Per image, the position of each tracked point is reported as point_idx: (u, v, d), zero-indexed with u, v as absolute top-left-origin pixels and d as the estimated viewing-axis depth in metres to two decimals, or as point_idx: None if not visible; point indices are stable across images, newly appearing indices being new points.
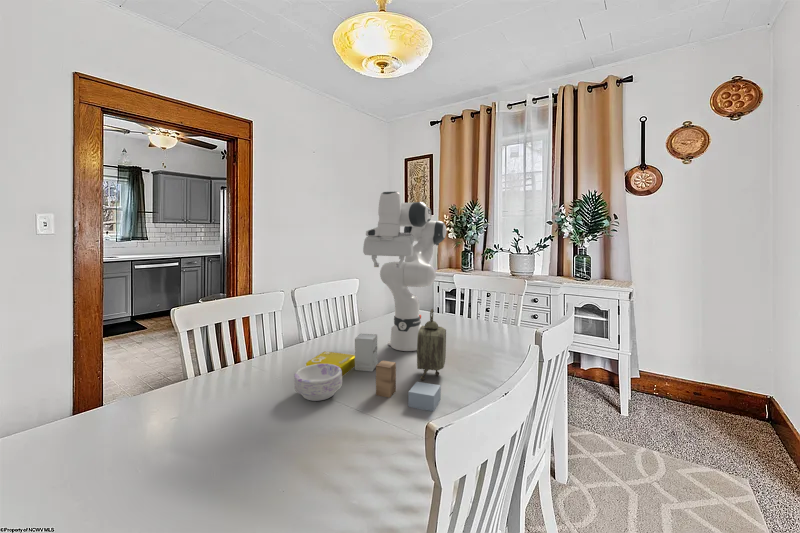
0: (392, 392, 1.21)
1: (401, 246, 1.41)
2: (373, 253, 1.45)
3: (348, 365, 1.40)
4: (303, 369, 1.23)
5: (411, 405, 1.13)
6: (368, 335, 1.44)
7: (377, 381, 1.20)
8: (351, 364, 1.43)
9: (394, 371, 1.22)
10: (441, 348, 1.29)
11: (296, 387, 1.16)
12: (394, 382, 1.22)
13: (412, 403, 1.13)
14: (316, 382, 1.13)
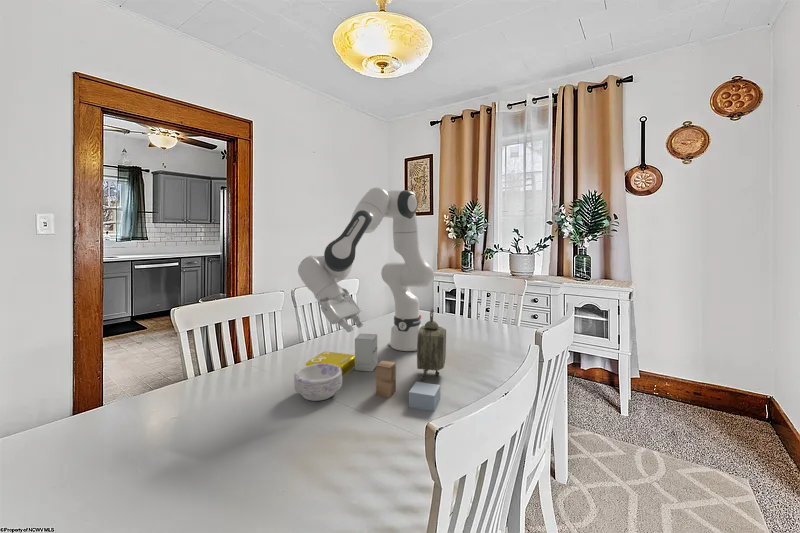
0: (392, 392, 1.21)
1: None
2: None
3: (348, 365, 1.40)
4: (303, 369, 1.23)
5: (411, 405, 1.13)
6: (368, 335, 1.44)
7: (377, 381, 1.20)
8: (351, 364, 1.43)
9: (394, 371, 1.22)
10: (441, 348, 1.29)
11: (296, 387, 1.16)
12: (394, 382, 1.22)
13: (412, 404, 1.12)
14: (316, 382, 1.13)
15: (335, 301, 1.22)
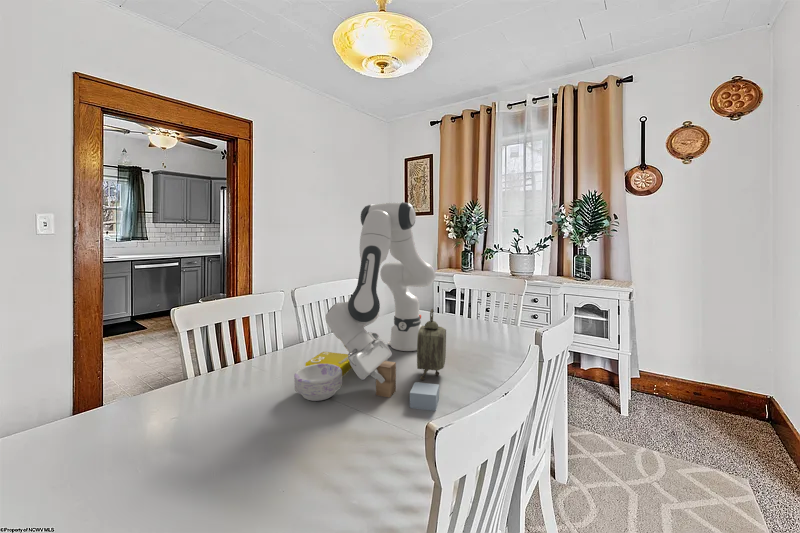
0: (392, 392, 1.21)
1: None
2: None
3: (348, 365, 1.40)
4: (303, 369, 1.23)
5: (412, 406, 1.12)
6: None
7: (377, 381, 1.20)
8: None
9: (394, 371, 1.22)
10: (441, 348, 1.29)
11: (296, 387, 1.16)
12: (394, 382, 1.22)
13: (413, 404, 1.12)
14: (316, 382, 1.13)
15: (364, 352, 1.19)
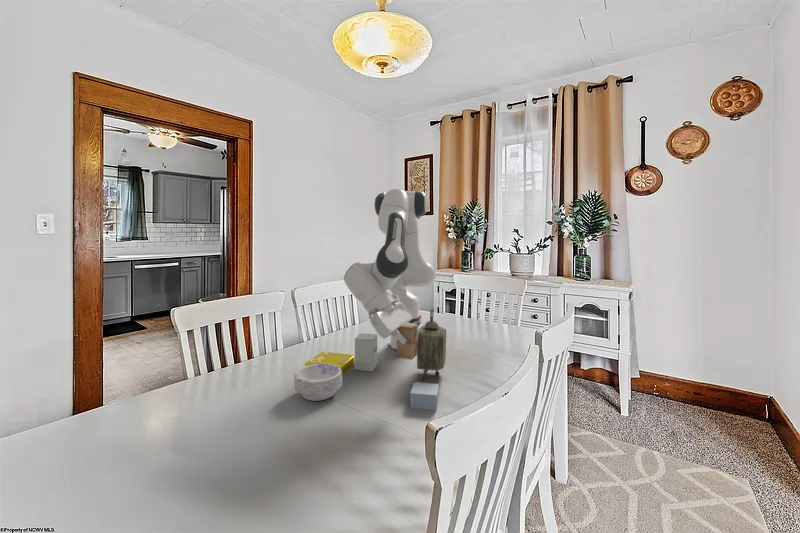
0: (414, 354, 1.15)
1: None
2: None
3: (347, 365, 1.40)
4: (303, 369, 1.23)
5: (413, 406, 1.12)
6: (368, 335, 1.44)
7: (398, 343, 1.14)
8: (350, 364, 1.43)
9: (416, 333, 1.16)
10: (441, 348, 1.29)
11: (296, 387, 1.16)
12: (415, 344, 1.16)
13: (414, 404, 1.12)
14: (316, 382, 1.13)
15: (385, 312, 1.13)
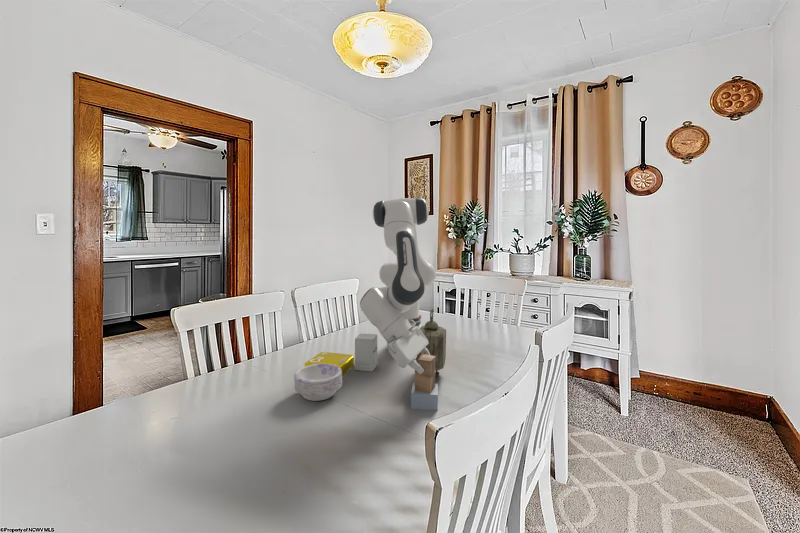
0: (432, 387, 1.13)
1: None
2: None
3: (347, 365, 1.41)
4: (303, 369, 1.23)
5: (414, 407, 1.12)
6: (368, 335, 1.44)
7: (416, 376, 1.13)
8: (350, 364, 1.43)
9: (434, 365, 1.14)
10: (441, 348, 1.29)
11: (296, 387, 1.16)
12: (433, 376, 1.15)
13: (415, 405, 1.12)
14: (316, 382, 1.13)
15: (403, 339, 1.12)
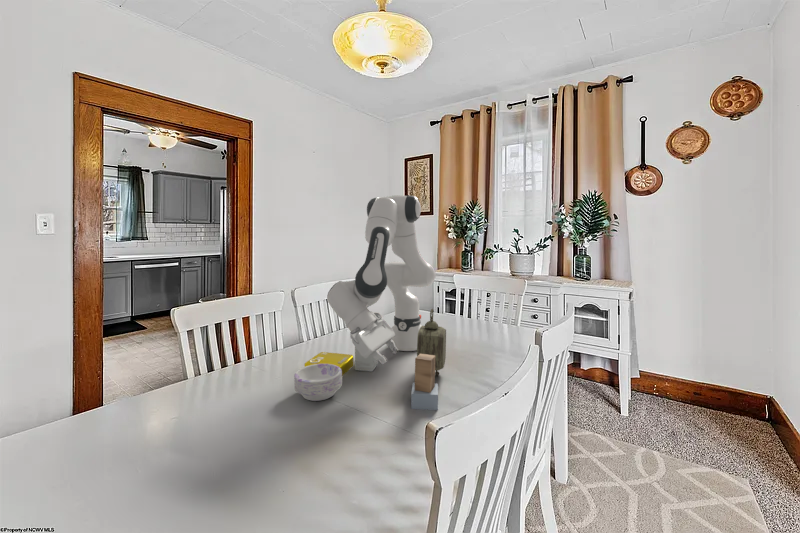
0: (432, 387, 1.14)
1: None
2: None
3: (347, 364, 1.41)
4: (303, 369, 1.23)
5: (414, 407, 1.12)
6: None
7: (416, 375, 1.13)
8: (350, 364, 1.43)
9: (434, 365, 1.15)
10: (441, 348, 1.29)
11: (296, 387, 1.16)
12: (433, 376, 1.15)
13: (415, 405, 1.12)
14: (316, 382, 1.13)
15: (367, 331, 1.16)
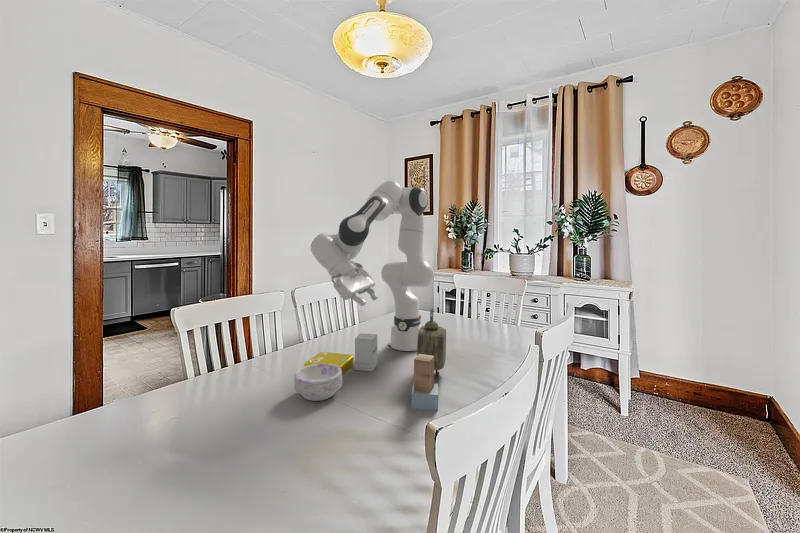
0: (431, 387, 1.14)
1: None
2: None
3: (347, 365, 1.41)
4: (303, 369, 1.23)
5: (414, 407, 1.12)
6: (368, 335, 1.44)
7: (415, 376, 1.13)
8: (349, 364, 1.43)
9: (433, 365, 1.14)
10: (441, 348, 1.29)
11: (296, 387, 1.16)
12: (432, 376, 1.15)
13: (415, 405, 1.12)
14: (316, 382, 1.13)
15: (347, 277, 1.25)
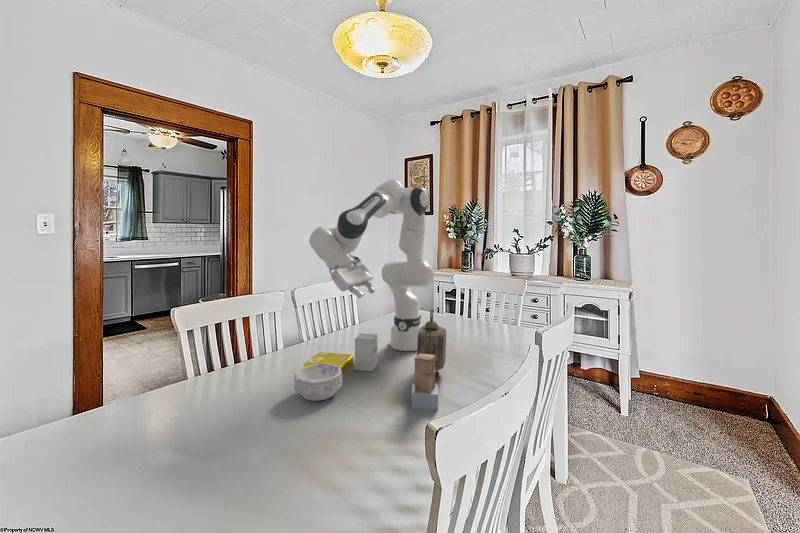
0: (432, 386, 1.14)
1: None
2: None
3: (347, 364, 1.41)
4: (303, 369, 1.23)
5: (414, 407, 1.12)
6: (368, 335, 1.44)
7: (416, 375, 1.13)
8: (349, 364, 1.43)
9: (433, 364, 1.15)
10: (441, 348, 1.29)
11: (296, 387, 1.16)
12: (433, 376, 1.15)
13: (415, 405, 1.12)
14: (316, 382, 1.13)
15: (345, 269, 1.25)
